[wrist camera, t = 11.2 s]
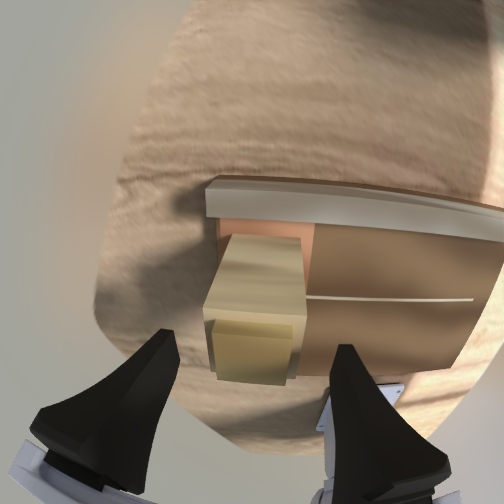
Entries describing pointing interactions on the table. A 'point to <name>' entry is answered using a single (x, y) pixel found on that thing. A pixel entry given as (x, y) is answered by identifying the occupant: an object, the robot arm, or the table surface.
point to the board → (373, 265)
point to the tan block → (257, 310)
